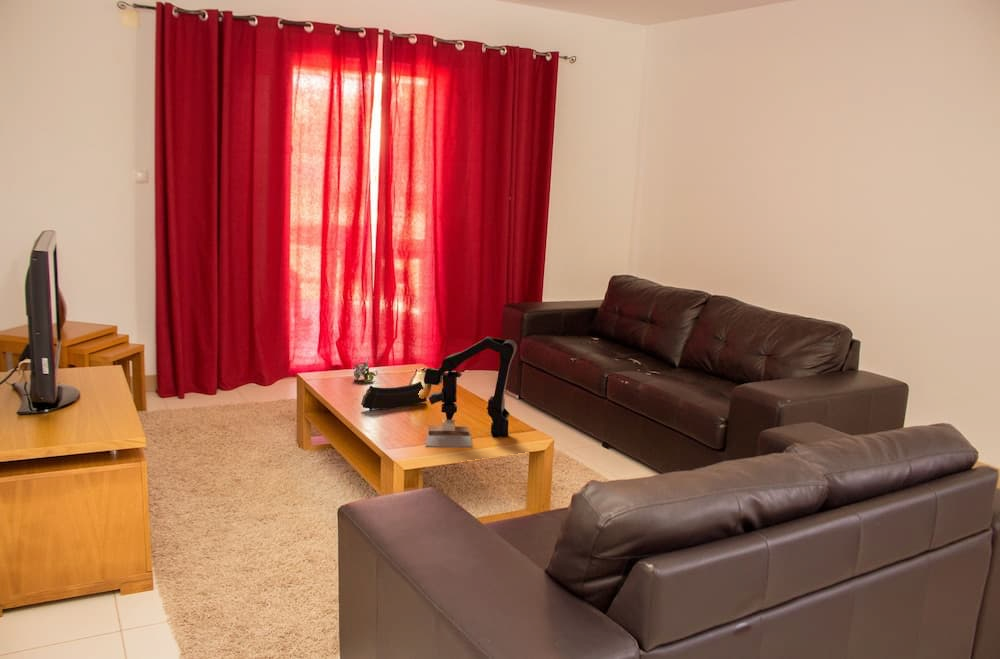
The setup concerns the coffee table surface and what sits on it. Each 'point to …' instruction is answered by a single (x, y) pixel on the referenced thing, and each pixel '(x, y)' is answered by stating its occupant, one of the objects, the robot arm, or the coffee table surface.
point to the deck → (438, 431)
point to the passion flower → (363, 372)
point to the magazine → (392, 397)
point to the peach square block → (448, 425)
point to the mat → (448, 441)
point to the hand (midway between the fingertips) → (448, 422)
